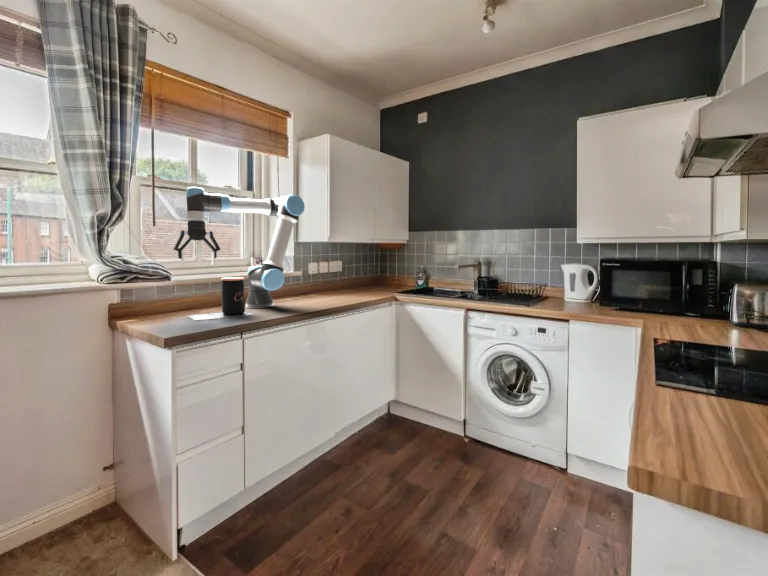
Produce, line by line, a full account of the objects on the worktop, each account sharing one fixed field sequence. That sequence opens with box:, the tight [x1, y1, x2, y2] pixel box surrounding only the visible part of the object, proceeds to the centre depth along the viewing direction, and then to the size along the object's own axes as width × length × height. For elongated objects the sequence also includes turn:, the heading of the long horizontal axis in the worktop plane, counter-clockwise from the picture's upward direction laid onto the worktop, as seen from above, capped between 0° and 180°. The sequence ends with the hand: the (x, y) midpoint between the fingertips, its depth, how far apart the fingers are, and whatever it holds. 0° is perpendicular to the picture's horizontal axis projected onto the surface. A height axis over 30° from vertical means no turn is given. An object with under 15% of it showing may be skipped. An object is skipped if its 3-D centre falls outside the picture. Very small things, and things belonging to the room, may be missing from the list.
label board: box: [187, 311, 253, 322], centre depth 191 cm, size 26×16×1 cm, turn 128°
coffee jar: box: [220, 276, 246, 315], centre depth 194 cm, size 11×11×18 cm
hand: (198, 265), depth 187 cm, fingers open, 13 cm apart
